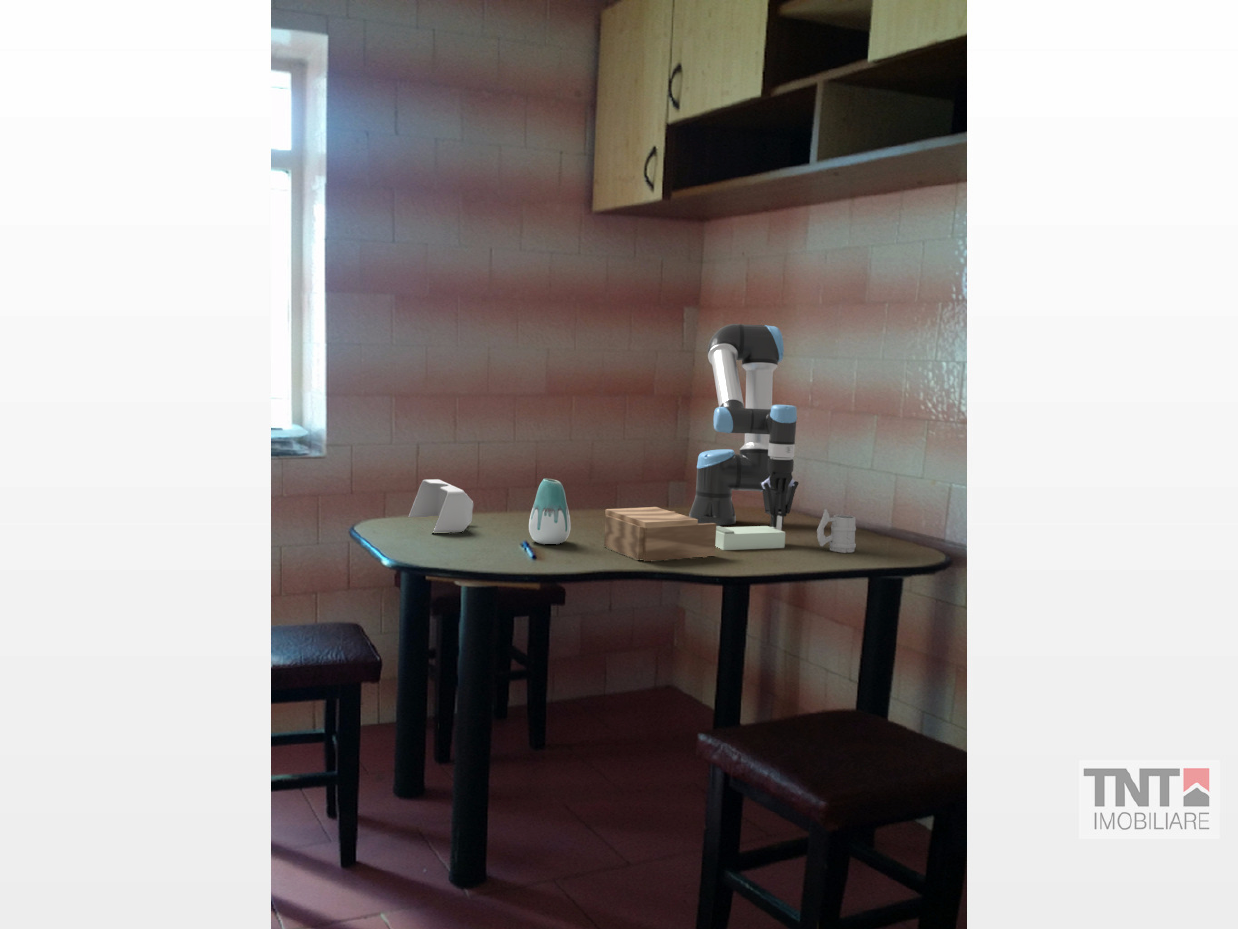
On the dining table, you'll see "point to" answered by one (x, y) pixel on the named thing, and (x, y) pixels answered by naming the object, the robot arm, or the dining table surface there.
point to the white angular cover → (443, 505)
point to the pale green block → (749, 538)
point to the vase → (550, 514)
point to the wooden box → (657, 534)
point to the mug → (838, 532)
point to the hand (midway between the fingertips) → (775, 537)
